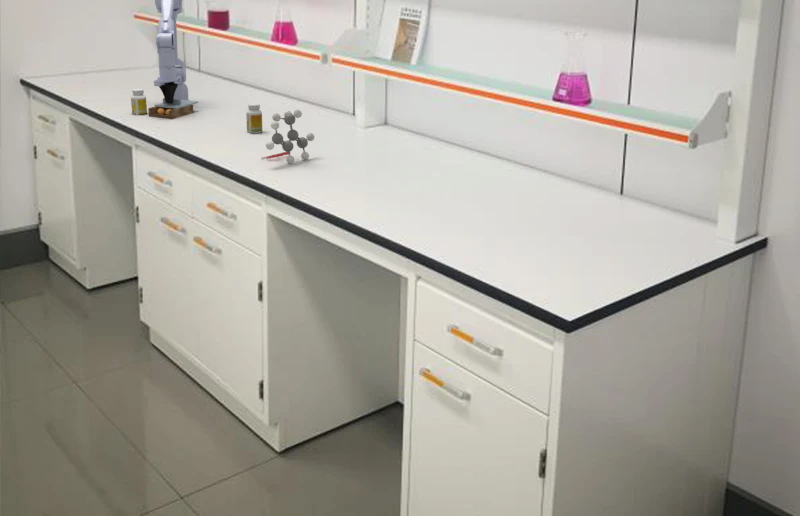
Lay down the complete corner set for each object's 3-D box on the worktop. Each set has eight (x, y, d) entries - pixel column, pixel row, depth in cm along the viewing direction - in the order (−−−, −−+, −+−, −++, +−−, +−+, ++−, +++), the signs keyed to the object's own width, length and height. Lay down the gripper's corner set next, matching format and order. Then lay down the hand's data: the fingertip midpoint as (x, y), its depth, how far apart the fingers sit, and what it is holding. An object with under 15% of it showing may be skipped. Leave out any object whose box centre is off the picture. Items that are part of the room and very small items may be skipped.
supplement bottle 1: (149, 114, 337) (147, 88, 334) (144, 117, 332) (142, 91, 329) (135, 114, 338) (133, 88, 334) (130, 116, 333) (128, 90, 329)
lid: (176, 100, 345) (176, 93, 344) (198, 102, 342) (197, 96, 341) (154, 106, 333) (154, 99, 332) (177, 108, 330) (176, 101, 329)
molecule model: (293, 159, 290) (284, 111, 287) (328, 155, 280) (318, 105, 277) (248, 171, 275) (237, 120, 272) (283, 167, 265) (272, 114, 262)
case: (171, 112, 343) (170, 102, 342) (193, 114, 340) (193, 104, 338) (149, 118, 331) (148, 108, 329) (171, 121, 327) (171, 110, 326)
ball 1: (160, 114, 334) (159, 107, 333) (166, 115, 333) (166, 108, 332) (155, 116, 331) (155, 108, 331) (162, 116, 331) (161, 109, 330)
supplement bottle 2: (265, 131, 316) (264, 104, 313) (256, 134, 312) (255, 106, 308) (253, 129, 318) (252, 102, 315) (243, 132, 314) (242, 104, 311)
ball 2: (168, 115, 333) (168, 108, 332) (174, 116, 332) (174, 108, 331) (164, 117, 330) (163, 109, 329) (170, 117, 329) (170, 110, 328)
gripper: (169, 62, 336) (171, 99, 340) (145, 67, 323) (148, 105, 328) (185, 64, 333) (187, 100, 338) (162, 69, 321) (164, 107, 325)
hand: (169, 103), depth 333 cm, fingers closed
